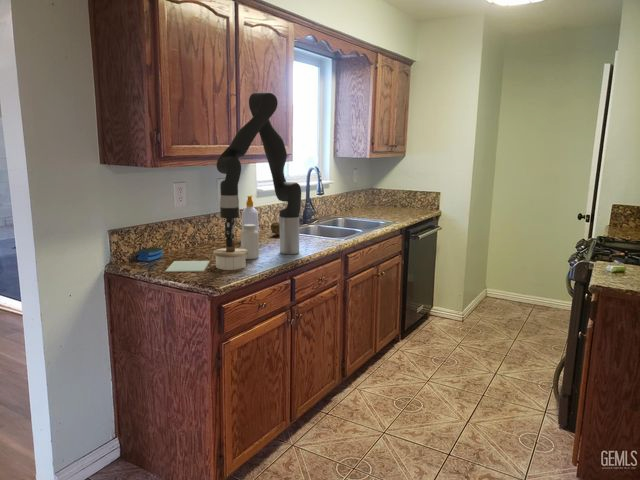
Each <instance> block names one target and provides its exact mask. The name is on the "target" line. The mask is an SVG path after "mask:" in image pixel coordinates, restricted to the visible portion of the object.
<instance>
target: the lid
mask: <svg viewBox="0 0 640 480" xmlns="http://www.w3.org/2000/svg"><path fill="white" fill-rule="evenodd" d="M235 241H236V238H234V239H232V247H227V246H226V245H225V247H223V248H222V247H221V248H216V249H214V250H213V251H212V252H213V255H214V256H215V257H216V256H219V257H239V256H244V255H246V254H248V250H246V249H243V248H241V247H236V242H235Z"/></svg>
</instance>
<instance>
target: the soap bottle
mask: <svg viewBox="0 0 640 480" xmlns="http://www.w3.org/2000/svg"><path fill="white" fill-rule="evenodd" d="M252 197H253V195H252V194H251V195H248V196H247V200H246V203H245V204H246V206H245V208H243V210H242V212H241V232H242V231H244V225H245V224H254V225H256V228H255V230H256V231H257V232H258V233H259V213H258V210H257V208H255V207H254V201H253V200H252V199H253V198H252Z"/></svg>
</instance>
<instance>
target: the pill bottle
mask: <svg viewBox="0 0 640 480" xmlns="http://www.w3.org/2000/svg"><path fill="white" fill-rule="evenodd" d="M255 228H256V225H254V224H245V225H244V231H242V230H241V232H240V248H243V249H246V250H248V254H246V260H256V259H258V258H259V256H260V249H259V248H260V246H259V245H260V243H259V242H260V239H259V238H260V237H259V236H260V235H259V231H258V232H257V231H256V230H255Z"/></svg>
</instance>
